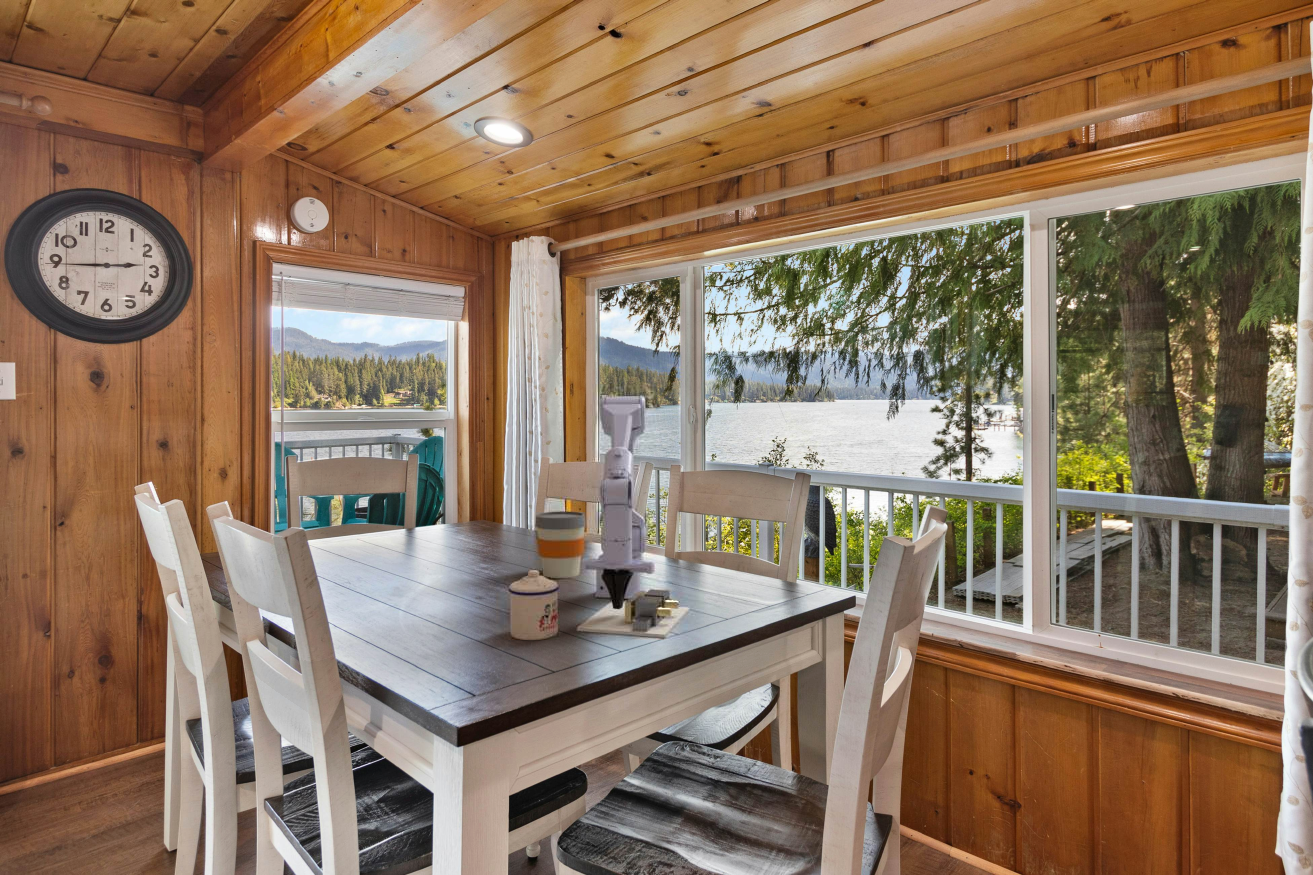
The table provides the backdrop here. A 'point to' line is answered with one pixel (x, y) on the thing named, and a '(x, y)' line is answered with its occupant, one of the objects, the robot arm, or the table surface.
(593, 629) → the mat
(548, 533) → the reusable coffee cup
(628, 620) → the gold metal bracket
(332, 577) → the table surface
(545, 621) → the teacup with lid
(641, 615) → the chain end near
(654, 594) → the dark grey notched block
